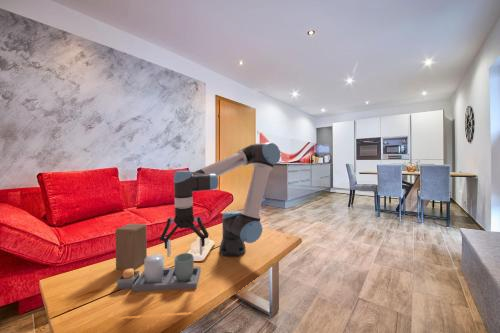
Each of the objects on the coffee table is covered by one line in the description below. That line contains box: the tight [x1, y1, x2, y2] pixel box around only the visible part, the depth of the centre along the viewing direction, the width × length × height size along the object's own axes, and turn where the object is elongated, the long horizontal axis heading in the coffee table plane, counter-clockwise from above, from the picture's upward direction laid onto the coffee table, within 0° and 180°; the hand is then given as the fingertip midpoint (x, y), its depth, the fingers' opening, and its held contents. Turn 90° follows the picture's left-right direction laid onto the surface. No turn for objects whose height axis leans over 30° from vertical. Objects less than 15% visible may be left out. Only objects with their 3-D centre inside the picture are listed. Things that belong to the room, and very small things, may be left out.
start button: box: [122, 268, 135, 278], centre depth 88 cm, size 4×4×4 cm
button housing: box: [116, 270, 140, 290], centre depth 88 cm, size 6×6×4 cm
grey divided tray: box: [131, 266, 202, 293], centre depth 91 cm, size 25×14×3 cm, turn 96°
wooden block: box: [115, 222, 148, 271], centre depth 104 cm, size 10×10×20 cm
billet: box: [143, 253, 165, 284], centre depth 91 cm, size 8×8×10 cm
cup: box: [174, 252, 195, 282], centre depth 92 cm, size 8×8×10 cm
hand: (185, 254), depth 92 cm, fingers open, 13 cm apart
